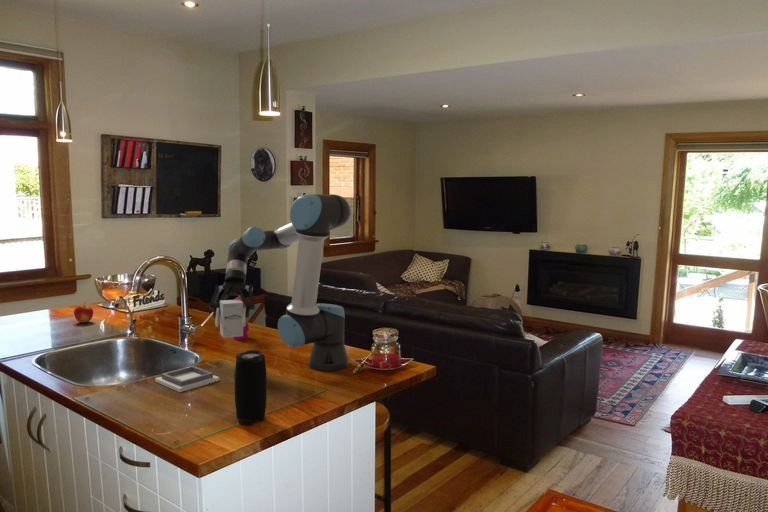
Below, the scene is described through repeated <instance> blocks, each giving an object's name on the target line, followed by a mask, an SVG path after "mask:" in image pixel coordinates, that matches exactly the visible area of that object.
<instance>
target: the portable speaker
mask: <svg viewBox="0 0 768 512" xmlns="http://www.w3.org/2000/svg"><path fill="white" fill-rule="evenodd" d="M235 359H236V361H235V367H234V368H235V369H234V378H233V380H234V403H235V404H234V407H235V414H236V419H237V420H238V423H239V424H241V425H243V426H252V425H253V423H255V422H258V421H261V422H264V421H265V419H266V417H265V416H266V409H267V398H268V397H267V365H266V358H265V354H264V353H263V352H262V351H261V350H258V349H247V350H245V351H243V352H240V353H236V357H235Z"/></svg>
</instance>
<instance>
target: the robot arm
mask: <svg viewBox="0 0 768 512" xmlns="http://www.w3.org/2000/svg"><path fill="white" fill-rule="evenodd" d="M351 214H352V210H351V206H350V204H349V202H348V200H347V199H346V198H344V197H343V196H341V195H339V194H333V193H332V194H320V193H318V194H316V193H308V194H302V195H299V196H298V197H297V198H296V199H295V200H294V201H293V202H292V205H291V207H290V211H289V219H290V221H291V222H290V223H287V224H285V225H282V226H280V227H278V228H276V229H272V230H263V229H262V228H260V227H257V226H255V225H254V226H250V227H248V229H247V230H245V231H244V232H243V234H242V235H241V236H240V237H239V238H235V239H233V240H232V241H230V244H229V247H228V252H227V253H228V254H227V255H228V256H227V262H226V263H227V264H226V267H225V268H226V270H225V278H224V279H225V280H224V283H223V285H219V284H216V285H215V287H214V288H215V289H214V292H213V295H212V297H211V300H210V302H209V305H208V307H209V309H210V311H213V313H212V316H213V319H214V325H215V328H218V327H219V325H220V301H221V300H228V299H229V297H233V296H234V297H236V296H237V297H238V295H239V297H240V298H241V300H242V302H243V304H244V306H245V307H244V310H243V320H242V324H243V327H245V323H246V321H247V318H250V311H251V310H255V309H256V307H255V302H254V296H253V292H254V291H253V290H254V287H253V284H249V285H246V280H247V279H246V278H247V277H246V275H247V270H248V269H247V267H248V259H249V258H250V257H251V256H252V255H253V254H254V253H255V252H256V251H267V250H268V251H269V250H277V249H279V250H283V249H287V248H289V247H291V245H292V244H293V243H296V242H298V244H297V253H296V261H295V262H296V263H295V270H294V281H293V288H292V289H293V290H292V296H291V302H290V303H289V304H287V306H286V309H285V311H286V313H285V314H284V315H282V316H280V317H279V319H278V322H277V331H278V334H279V337H280V339H281V340H282V342H283V343H284V345H286V346H288V347H290V348H297V347H304V346H306V345H310V344H312V346H311V347H312V348H311V351H310V356H309V357H308V362H307V363H308V367H310V368H311V369H312V370H316V371H322V372H330V371H331V372H332V371H334V372H335V371H340V370H343V369H346V368H348V367H349V362H350V361H349V359H350V358H349V356H348V354H347V350H346V346H345V331H346V330H345V325H346V324H345V323H346V322H345V319H346V317H345V309H344V307H343V306H341V305H338V304H331V303H317V299H318V293H319V292H318V291H319V284H320V283H319V282H320V276H321V268H322V261H323V251H324V244H325V240H326V239H327V238H329V237H330V233H331V232H330V231H332V230H334V229H338V228H341V227H342V226H344V225H346V224H347V223H348V221H349V220H350V217H351ZM222 290H224V291H223V293H222V294H221V296H220V293H221V292H222ZM245 290H246V292H248V295H249V301H250V304H249V303H248V300H247V298H246V297H245V295H244V293H243V292H244V291H245ZM219 296H220V297H219ZM218 298H219V299H218Z"/></svg>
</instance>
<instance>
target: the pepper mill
mask: <svg viewBox="0 0 768 512" xmlns="http://www.w3.org/2000/svg"><path fill="white" fill-rule="evenodd" d="M238 299H240V300H241V298H240V297H239V295H238V296H237V297H235V298H234V299H233V300H238ZM241 301H242V300H241ZM244 307H245V306H244V304H243V310H244ZM249 329H250V327H249V323H248V321H247V320H246V323H245V327H243V336H238V337H232V339H233V340H235V341H243V340H244V339H245V340H247V339H248V337H249V334H248V332H249Z"/></svg>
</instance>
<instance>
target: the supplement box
mask: <svg viewBox="0 0 768 512" xmlns="http://www.w3.org/2000/svg"><path fill="white" fill-rule="evenodd" d="M219 310H220V316H219V326H220V327H219V328H220V329H219V330H220V331H219V333H220V335H221V337H222V338H223V339H225V338H233V337H238V336H243V324H242V320H243V302H242V301H241V300H240V299H238V300H234V299H226V300H221V301H220V309H219Z"/></svg>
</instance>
